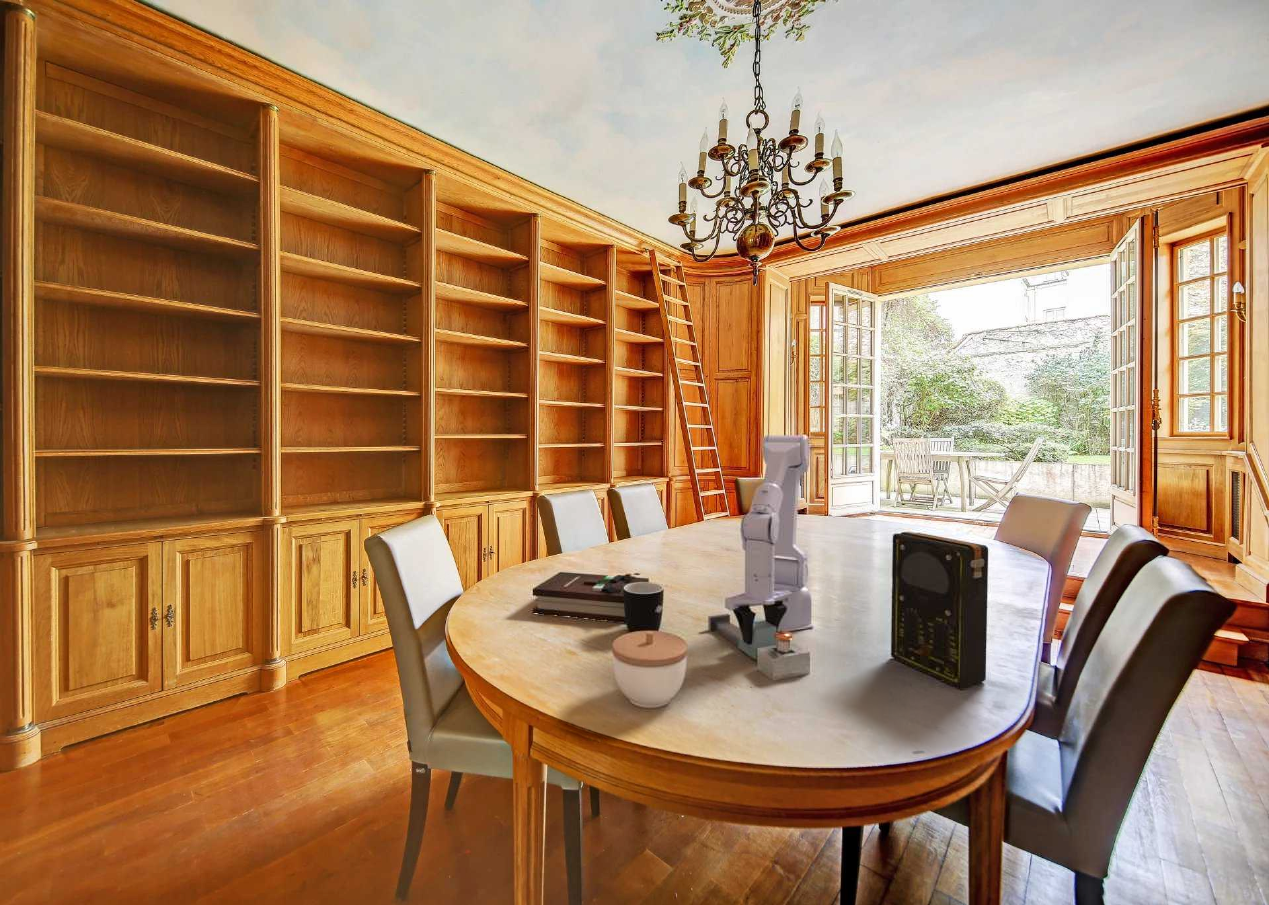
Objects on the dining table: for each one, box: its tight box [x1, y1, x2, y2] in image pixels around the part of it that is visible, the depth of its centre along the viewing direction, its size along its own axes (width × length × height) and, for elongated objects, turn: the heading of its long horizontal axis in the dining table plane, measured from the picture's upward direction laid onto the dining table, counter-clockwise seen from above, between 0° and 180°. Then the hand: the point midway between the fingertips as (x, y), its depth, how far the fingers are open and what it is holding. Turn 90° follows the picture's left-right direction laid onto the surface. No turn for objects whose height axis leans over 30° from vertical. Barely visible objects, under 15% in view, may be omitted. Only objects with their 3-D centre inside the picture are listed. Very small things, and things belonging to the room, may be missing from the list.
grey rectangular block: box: [756, 641, 811, 681], centre depth 99 cm, size 8×5×4 cm, turn 111°
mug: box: [623, 581, 664, 633], centre depth 121 cm, size 12×9×10 cm
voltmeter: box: [890, 531, 989, 690], centre depth 100 cm, size 16×9×25 cm, turn 23°
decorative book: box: [532, 571, 650, 624], centre depth 136 cm, size 19×8×30 cm
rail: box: [707, 613, 739, 648], centre depth 112 cm, size 5×22×3 cm, turn 21°
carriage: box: [738, 616, 777, 661], centre depth 107 cm, size 5×6×6 cm
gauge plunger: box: [775, 631, 794, 655], centre depth 99 cm, size 3×3×5 cm
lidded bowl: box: [611, 630, 688, 709], centre depth 90 cm, size 13×13×11 cm
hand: (758, 640), depth 107 cm, fingers closed on carriage, 5 cm apart
